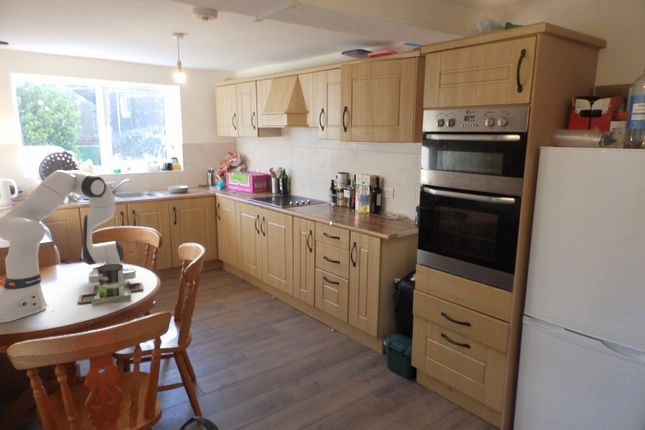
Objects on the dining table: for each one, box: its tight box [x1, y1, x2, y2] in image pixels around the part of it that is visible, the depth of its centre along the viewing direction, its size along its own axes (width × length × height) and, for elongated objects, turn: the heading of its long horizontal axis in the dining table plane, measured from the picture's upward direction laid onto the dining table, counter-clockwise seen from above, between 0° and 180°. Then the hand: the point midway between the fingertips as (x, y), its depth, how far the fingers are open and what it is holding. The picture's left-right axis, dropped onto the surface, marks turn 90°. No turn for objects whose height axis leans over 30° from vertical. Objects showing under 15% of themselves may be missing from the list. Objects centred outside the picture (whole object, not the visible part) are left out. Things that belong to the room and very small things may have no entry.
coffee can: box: [97, 264, 125, 298], centre depth 193 cm, size 10×10×14 cm
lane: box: [77, 281, 144, 306], centre depth 197 cm, size 24×26×2 cm
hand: (112, 280), depth 199 cm, fingers closed
